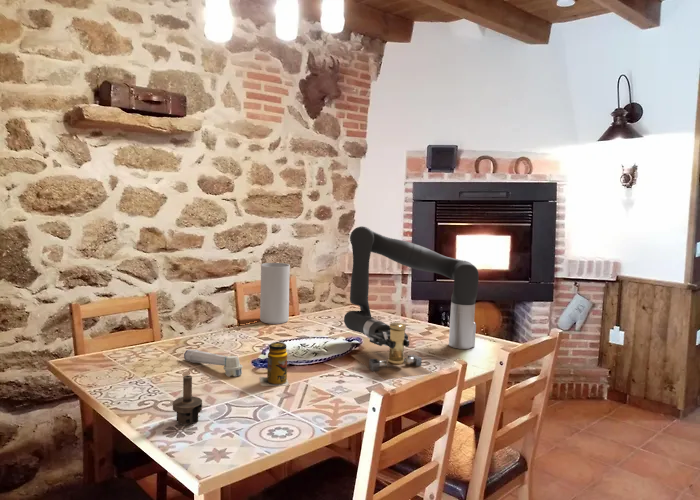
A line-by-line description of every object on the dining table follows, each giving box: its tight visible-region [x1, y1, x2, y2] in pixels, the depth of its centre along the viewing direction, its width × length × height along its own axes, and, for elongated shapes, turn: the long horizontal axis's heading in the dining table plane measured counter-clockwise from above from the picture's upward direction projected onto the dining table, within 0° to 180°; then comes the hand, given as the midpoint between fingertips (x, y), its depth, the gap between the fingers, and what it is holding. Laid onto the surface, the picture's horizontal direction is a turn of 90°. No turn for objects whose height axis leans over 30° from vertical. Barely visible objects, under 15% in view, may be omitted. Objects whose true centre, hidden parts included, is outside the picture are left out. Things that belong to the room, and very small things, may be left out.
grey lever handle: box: [183, 348, 243, 377], centre depth 184 cm, size 5×7×25 cm
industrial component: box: [172, 374, 203, 426], centre depth 142 cm, size 9×7×12 cm
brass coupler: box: [388, 322, 407, 365], centre depth 188 cm, size 5×5×13 cm
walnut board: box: [350, 350, 433, 380], centre depth 193 cm, size 18×26×1 cm
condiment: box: [259, 341, 290, 387], centre depth 173 cm, size 7×8×12 cm
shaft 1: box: [368, 359, 387, 373], centre depth 187 cm, size 5×4×3 cm
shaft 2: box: [404, 354, 423, 367], centre depth 192 cm, size 5×4×3 cm
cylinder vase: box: [259, 262, 291, 325], centre depth 246 cm, size 12×12×25 cm
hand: (400, 344), depth 186 cm, fingers closed on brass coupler, 5 cm apart
